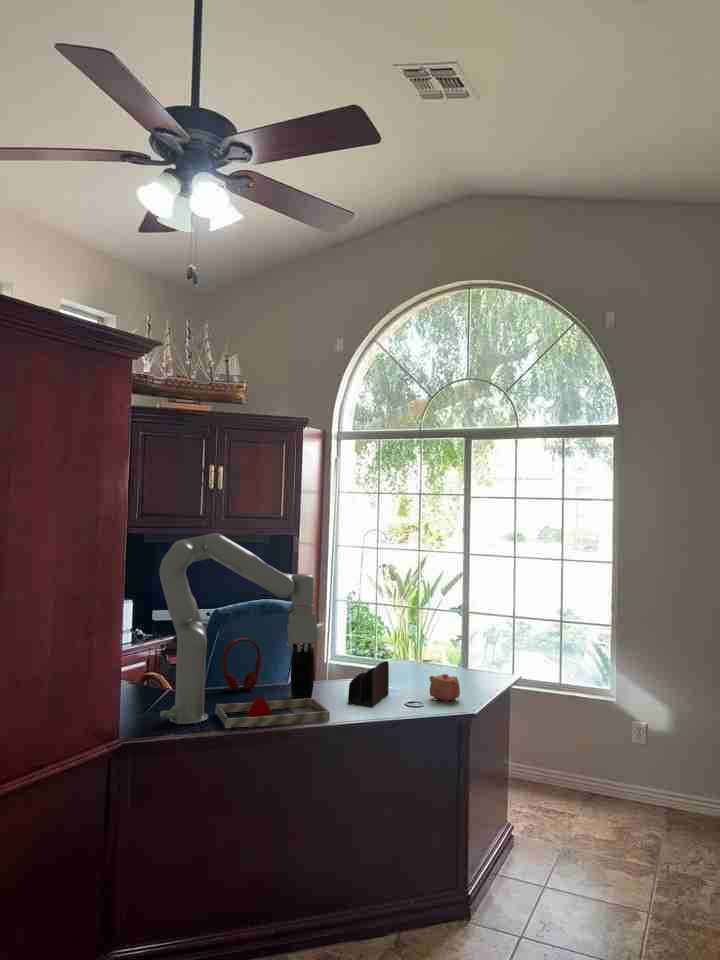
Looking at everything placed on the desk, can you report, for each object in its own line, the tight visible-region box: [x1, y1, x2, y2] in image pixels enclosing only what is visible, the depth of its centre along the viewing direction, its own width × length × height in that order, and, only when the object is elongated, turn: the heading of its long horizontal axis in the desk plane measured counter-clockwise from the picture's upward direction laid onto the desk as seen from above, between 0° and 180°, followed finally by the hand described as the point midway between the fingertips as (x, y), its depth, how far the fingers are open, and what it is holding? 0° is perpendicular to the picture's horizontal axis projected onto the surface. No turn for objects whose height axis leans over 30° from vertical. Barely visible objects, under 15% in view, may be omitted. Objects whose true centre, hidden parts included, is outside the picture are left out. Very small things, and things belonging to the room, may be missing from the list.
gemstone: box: [245, 695, 273, 717], centre depth 252 cm, size 9×9×10 cm
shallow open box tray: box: [215, 697, 331, 729], centre depth 255 cm, size 36×18×4 cm, turn 112°
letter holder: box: [347, 660, 390, 708], centre depth 282 cm, size 10×20×14 cm, turn 161°
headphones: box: [221, 637, 261, 692], centre depth 289 cm, size 15×7×20 cm, turn 118°
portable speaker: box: [289, 643, 315, 700], centre depth 281 cm, size 9×9×20 cm
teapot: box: [429, 673, 461, 703], centre depth 285 cm, size 12×12×10 cm
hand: (301, 662), depth 259 cm, fingers closed
